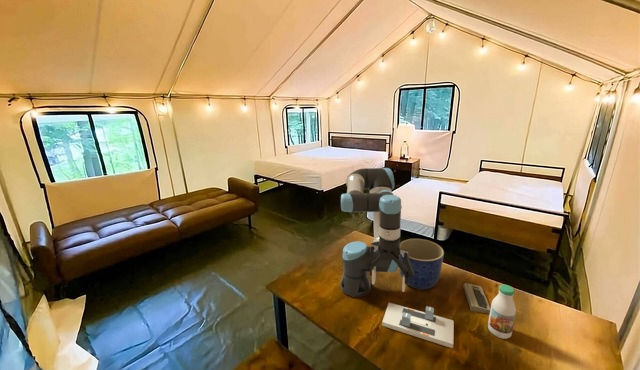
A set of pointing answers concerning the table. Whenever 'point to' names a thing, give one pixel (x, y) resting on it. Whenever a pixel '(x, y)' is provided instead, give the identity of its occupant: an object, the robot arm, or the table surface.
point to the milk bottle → (502, 313)
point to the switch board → (420, 325)
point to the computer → (476, 298)
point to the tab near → (406, 319)
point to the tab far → (429, 313)
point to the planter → (423, 262)
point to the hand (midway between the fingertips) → (388, 285)
